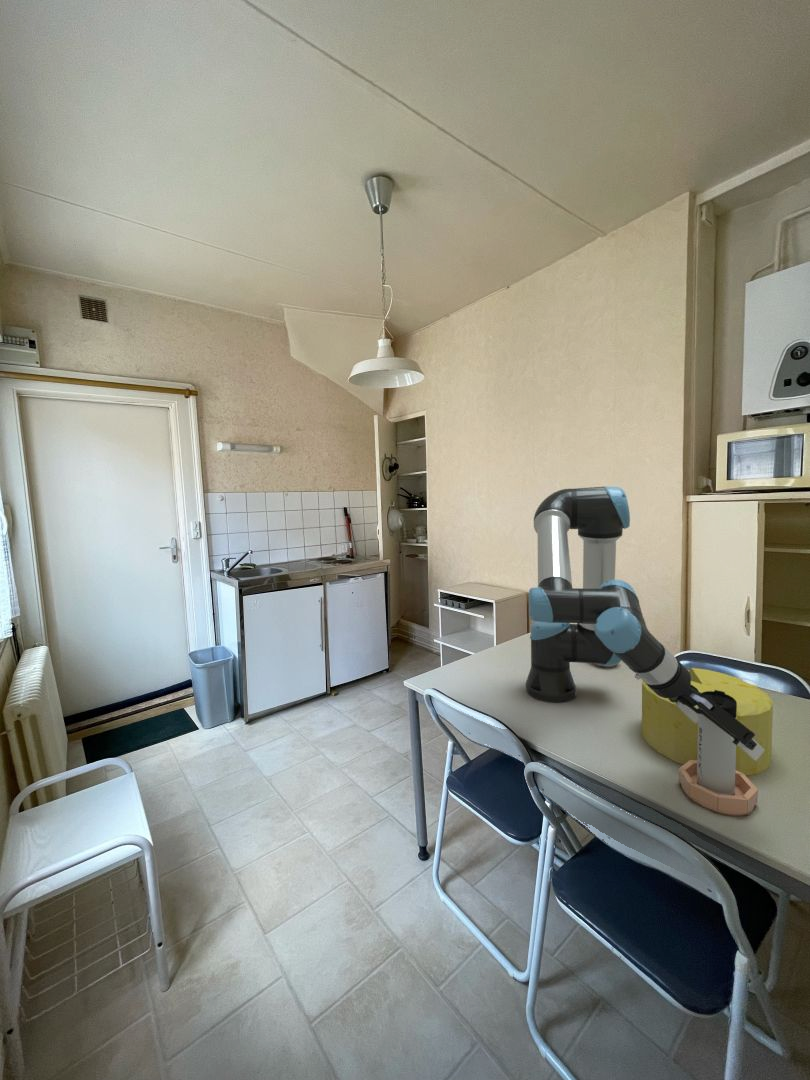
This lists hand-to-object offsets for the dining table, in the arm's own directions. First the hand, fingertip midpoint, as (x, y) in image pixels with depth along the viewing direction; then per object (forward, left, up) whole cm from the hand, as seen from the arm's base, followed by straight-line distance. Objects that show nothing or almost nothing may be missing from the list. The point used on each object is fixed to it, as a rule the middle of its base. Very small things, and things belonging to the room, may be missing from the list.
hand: (726, 735), depth 87 cm
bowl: (-2, -1, -12) cm, 13 cm away
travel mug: (-2, -1, -12) cm, 12 cm away
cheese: (+4, +19, -13) cm, 23 cm away
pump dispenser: (-7, +69, -13) cm, 70 cm away
